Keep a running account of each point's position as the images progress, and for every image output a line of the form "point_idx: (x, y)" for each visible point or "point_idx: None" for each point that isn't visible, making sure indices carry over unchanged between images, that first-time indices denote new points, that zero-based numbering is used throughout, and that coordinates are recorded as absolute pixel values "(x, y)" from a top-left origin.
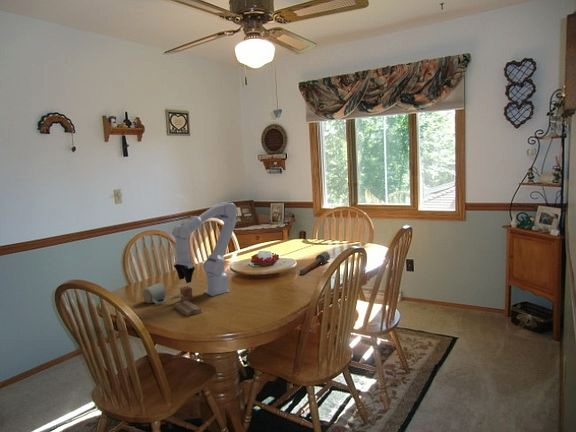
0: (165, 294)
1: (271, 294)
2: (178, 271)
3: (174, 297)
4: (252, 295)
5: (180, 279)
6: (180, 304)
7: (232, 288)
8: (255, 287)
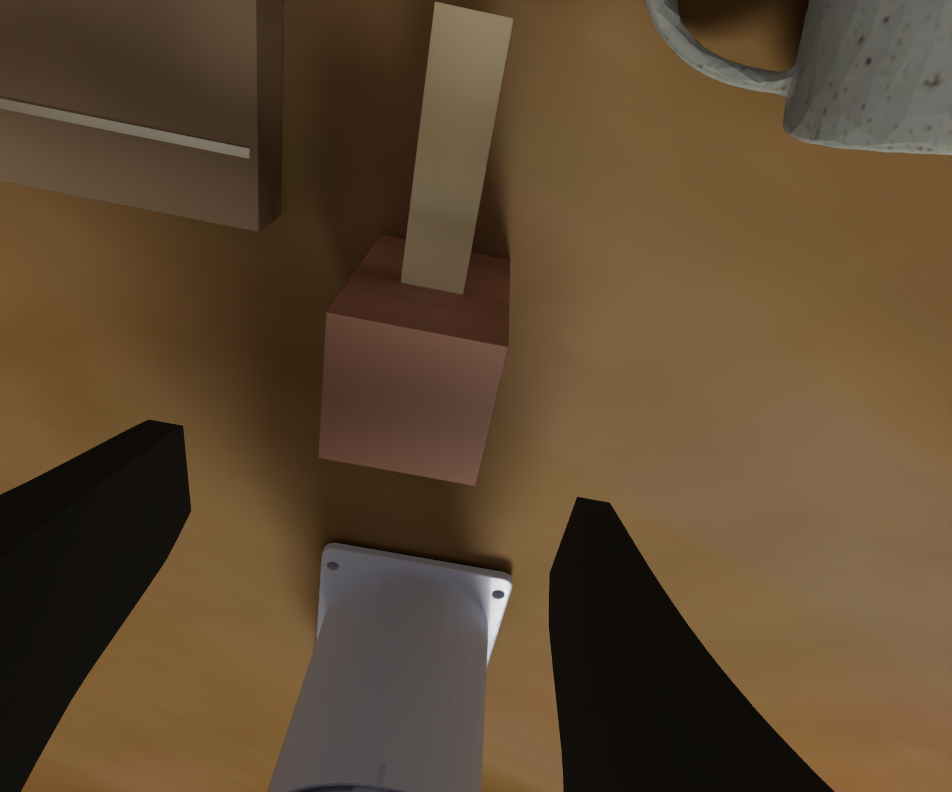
0: (786, 122)
1: None
2: (632, 692)
3: (425, 107)
4: (81, 691)
5: (574, 504)
6: (126, 22)
7: None
8: (256, 787)
